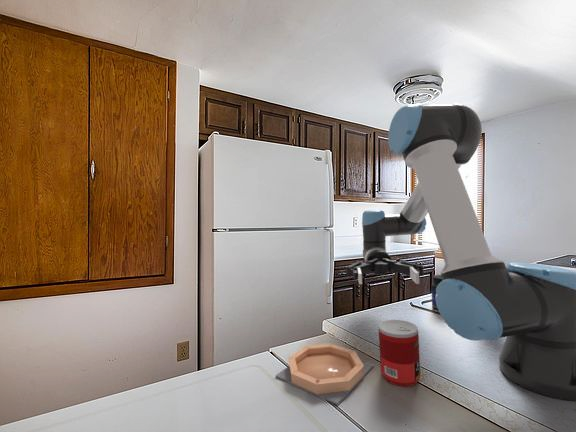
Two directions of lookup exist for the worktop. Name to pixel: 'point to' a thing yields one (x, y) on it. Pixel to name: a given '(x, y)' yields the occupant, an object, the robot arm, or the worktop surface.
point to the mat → (331, 397)
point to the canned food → (399, 352)
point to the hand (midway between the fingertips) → (388, 278)
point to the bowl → (325, 368)
